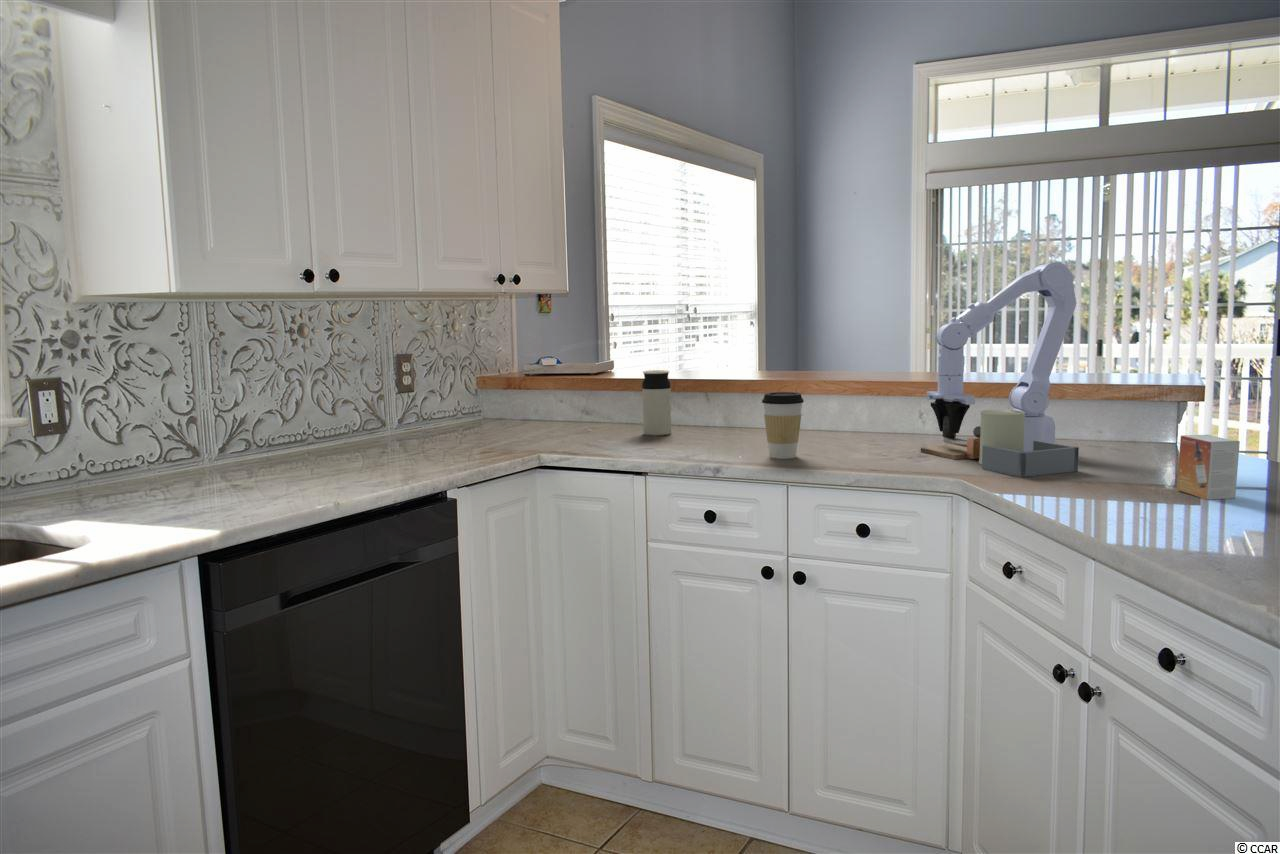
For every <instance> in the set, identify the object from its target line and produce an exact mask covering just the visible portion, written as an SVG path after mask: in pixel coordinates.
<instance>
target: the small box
mask: <svg viewBox="0 0 1280 854" xmlns="http://www.w3.org/2000/svg"><path fill="white" fill-rule="evenodd" d="M1178 453H1179V455H1178V456H1179V457H1178V470H1177V480H1176V491H1179V492H1183V493H1186V494H1188V495H1191V496H1195V497H1198V498H1201V499H1204V500H1206V501H1209V500H1229V499H1230V500H1232V499H1236V492H1237V491H1236V490H1237V479H1238V469H1239V468H1238V467H1239V454H1240V441H1239V440H1238V439H1229V438H1224V437H1219V436H1214V435H1210V434H1186V435H1183V434H1182V435H1180V441H1179V452H1178Z"/></svg>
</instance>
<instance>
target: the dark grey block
mask: <svg viewBox="0 0 1280 854" xmlns="http://www.w3.org/2000/svg"><path fill="white" fill-rule="evenodd" d="M980 430H981V425H979V426H976V427H974V429H973V430H972V431H973V432H972V433H973V435H974V437H969V438H968V437H967V438H966V439H963V438H957V437H956V436H957V433H953V434H952V433H950V430H949V417H948V414H945V415H943V432H942V438H943V442H944V443H945V444H948V445H959V446H964V447H967V458H966V459H972V460H973V459H979V458H980Z"/></svg>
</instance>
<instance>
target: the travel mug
mask: <svg viewBox="0 0 1280 854" xmlns="http://www.w3.org/2000/svg"><path fill="white" fill-rule="evenodd" d="M669 373H670V370H665V369H663V370H662V369H657V370H656V369H654V370H653V369H651V370H649V369H648V370H644V371H643V372H642V374H643V377H644V379H643V381H642V383H641V386H642V387H641V388H642V424H643V425H642V427H643V428H642V432H643V434H644V435H646V436H653V437H658V436H659V437H660V436H661V437H663V436H668V435H670V434H672V401H671V399H672V397H671V396H672V395H671V391H672V390H671V381H670V379H669Z"/></svg>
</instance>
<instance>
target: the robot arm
mask: <svg viewBox="0 0 1280 854" xmlns="http://www.w3.org/2000/svg"><path fill="white" fill-rule="evenodd" d="M1074 281H1075V276H1074V274H1073V273H1072V271H1071V270H1070V269H1069V267H1068V266H1067V265H1066V264H1065V263H1064V262H1063V263H1062V262H1060V261H1054V262H1050V263H1039V264H1036V265H1035V266H1033V267H1032V269H1028V270H1027V271H1025V272H1023V273H1022V274H1020V275H1019V276H1017V278H1015V279H1014V280H1012V281H1011V282H1010V283H1009V284H1007V285H1006V286H1005V287H1004V288H1002V289H1001V290H1000V291H999V292H997V293H996V294H995V295H994V296H992V297H991V298H990V299H989V300H987V301H985V302H983V301H982V302H981V301H977V302H975V303H972V302H971V303H969V304H968V305H967V309H966V310H964V311H963V312H962V313H960V314H959V315H958V316H955V317H954V316H953V317H951V318H950V322H951V323H946V324H943V325H942V326H941V327H940V328H939V329H938V330H937V332H936V335H935V342H936V343H937V344H938V355H937V391H936V390H935V391H934V390H930V391H926V400H934V401H933V402H930V407H931V408H932V411H933V412H934V415H935V417H936V418H935V419H936V421H937V425H938V427H939V428H938V429H939V431H940V432H942V433H943V415H945V414H948V417H949V430H950V433H952V434H953V433H956V434H959V433H960V430H961V426H962V423H963V420H964V417H965V415H966V414H967V412H968V411H969V409H970V407H971V405H975V404H976V396H975V395H972V394H971V395H970V394H968V393H964V371H965V370H964V367H965V355H964V354H965V353H964V349H965V345H966V344H967V342H968V340H969V338H972V337H973V336H975V335H976V334H978V333H979V332H981V330H983V329H984V328H986V327H987V326H989V325H990V324H992V322H993V321H994V318H995V315H996V313H997V312H999V311H1000V310H1003V308H1005V307H1006V306H1008V305H1009V304H1010V303H1012V302H1013V301H1015V300H1016V299H1018V298H1020V297H1021V296H1022V295H1024V294H1026V293H1032V292H1037V293H1039V294H1040V295H1041V296H1042V297H1043V299H1044V300H1045V302H1046V303H1047V305H1048V306H1049V307H1048V310H1047V313H1046V316H1045V318H1044V322H1043V325H1042V328H1041V330H1040V332H1039V335H1038V338H1037V341H1036V344H1035V346H1034V349H1033V351H1032V354H1031V357H1030V360H1029V362H1028V365H1027V368H1026V370H1025V372H1024V373H1023V374H1022V375H1021V376H1020V378H1019V379H1018V382H1017V384H1016V385H1015V386H1014V387H1013V388H1012V389H1011V391H1010V393H1009V395H1008V401H1009V404H1010V406H1011V407H1012V408H1013V409H1012V410H1016V411H1023V412H1025V421H1024V446H1023V452H1029V451H1033V441H1034V440H1039V441H1044V442H1050V443H1055V441H1056V422H1055V419H1054V418H1053V417H1052V416H1051V415H1050V414H1047V413H1046V412H1045V411H1046V410H1047V408H1048V406H1049V403H1050V397H1049V392H1050V389H1051V383H1050V382H1051V381H1050V376H1051V375H1052V371H1053V369H1054V366H1055V363H1056V360H1057V358H1058V354H1059V353H1060V350H1061V348H1062V344H1063V342H1064V339H1065V338H1066V337H1065V336H1066V333H1067V331H1068V328H1069V326H1070V323H1071V321H1072V318H1073V315H1074V312H1075V310H1076V307H1077V298H1076V293H1075V287H1074Z"/></svg>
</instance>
